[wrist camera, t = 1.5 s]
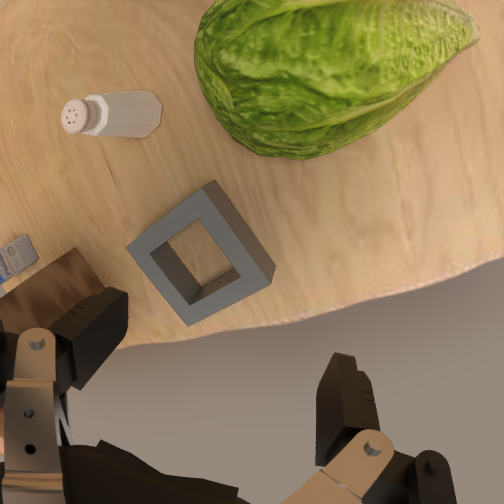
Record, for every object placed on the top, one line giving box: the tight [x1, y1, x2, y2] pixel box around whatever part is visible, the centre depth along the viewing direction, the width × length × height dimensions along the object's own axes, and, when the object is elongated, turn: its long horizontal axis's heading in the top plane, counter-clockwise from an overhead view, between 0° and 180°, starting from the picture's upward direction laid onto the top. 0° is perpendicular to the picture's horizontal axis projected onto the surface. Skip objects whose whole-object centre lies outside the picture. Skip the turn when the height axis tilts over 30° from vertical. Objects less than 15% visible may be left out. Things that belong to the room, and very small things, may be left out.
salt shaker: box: [61, 90, 162, 138], centre depth 24 cm, size 5×5×11 cm
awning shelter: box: [0, 247, 129, 457], centre depth 26 cm, size 12×10×26 cm
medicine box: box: [0, 234, 38, 285], centre depth 37 cm, size 8×4×9 cm, turn 115°
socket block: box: [126, 180, 276, 327], centre depth 32 cm, size 11×11×4 cm
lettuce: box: [194, 0, 480, 160], centre depth 18 cm, size 15×24×14 cm, turn 112°
